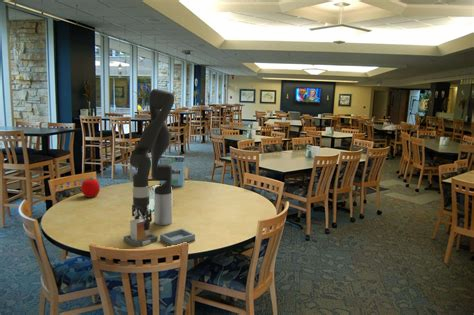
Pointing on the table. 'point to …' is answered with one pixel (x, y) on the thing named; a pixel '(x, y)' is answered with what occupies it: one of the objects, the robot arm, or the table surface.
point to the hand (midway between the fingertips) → (141, 227)
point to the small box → (138, 230)
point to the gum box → (175, 169)
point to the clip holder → (141, 242)
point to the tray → (177, 237)
